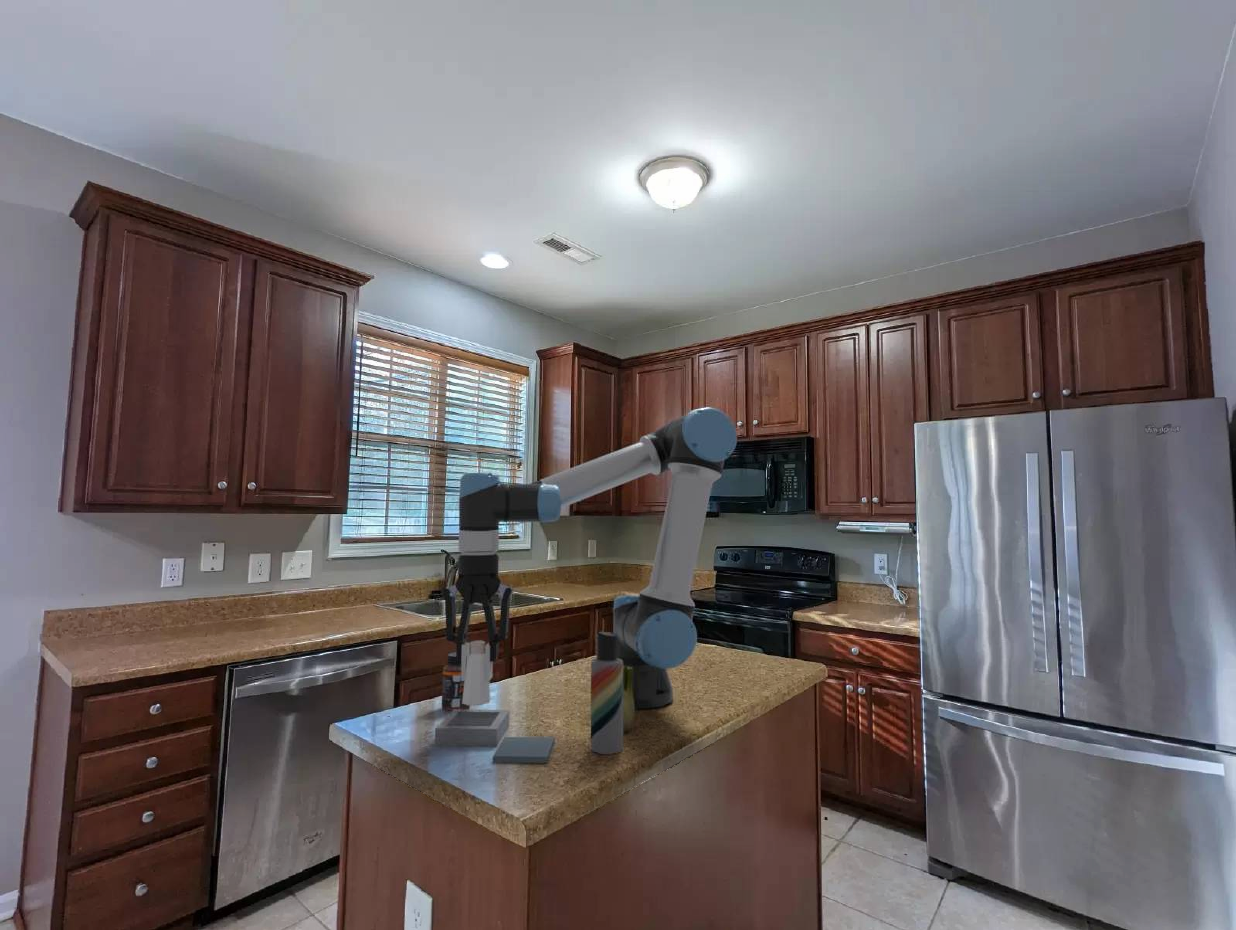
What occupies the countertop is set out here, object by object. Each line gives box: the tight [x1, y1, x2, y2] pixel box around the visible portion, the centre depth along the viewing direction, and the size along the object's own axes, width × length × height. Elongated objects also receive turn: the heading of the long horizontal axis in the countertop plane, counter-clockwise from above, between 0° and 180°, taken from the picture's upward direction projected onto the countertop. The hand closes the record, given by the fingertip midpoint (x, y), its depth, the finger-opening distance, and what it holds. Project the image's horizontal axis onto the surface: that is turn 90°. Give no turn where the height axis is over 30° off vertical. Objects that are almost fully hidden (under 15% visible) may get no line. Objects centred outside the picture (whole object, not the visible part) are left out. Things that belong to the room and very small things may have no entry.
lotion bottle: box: [590, 631, 624, 755], centre depth 106 cm, size 6×6×20 cm
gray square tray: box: [434, 708, 510, 748], centre depth 112 cm, size 11×11×3 cm
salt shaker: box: [462, 639, 492, 707], centre depth 114 cm, size 5×5×11 cm
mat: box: [492, 736, 555, 764], centre depth 104 cm, size 9×9×1 cm
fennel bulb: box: [623, 666, 636, 735], centre depth 115 cm, size 6×5×12 cm
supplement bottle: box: [441, 652, 470, 713], centre depth 129 cm, size 6×6×11 cm
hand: (476, 678), depth 114 cm, fingers closed on salt shaker, 4 cm apart
